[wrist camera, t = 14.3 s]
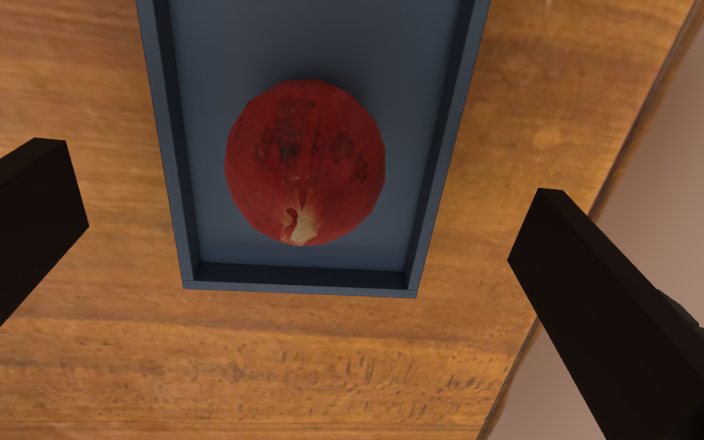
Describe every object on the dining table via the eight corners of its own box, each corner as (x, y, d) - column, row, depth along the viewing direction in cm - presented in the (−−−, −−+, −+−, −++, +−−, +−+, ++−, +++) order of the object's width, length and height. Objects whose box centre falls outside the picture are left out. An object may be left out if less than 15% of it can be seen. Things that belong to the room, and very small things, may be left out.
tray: (137, -146, 13) (107, -163, 12) (495, -98, 14) (518, -105, 13) (194, 263, 23) (183, 289, 21) (409, 273, 24) (416, 298, 22)
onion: (231, 64, 16) (164, 139, 10) (373, 54, 16) (404, 122, 10) (258, 190, 20) (221, 312, 13) (377, 181, 20) (402, 298, 13)
